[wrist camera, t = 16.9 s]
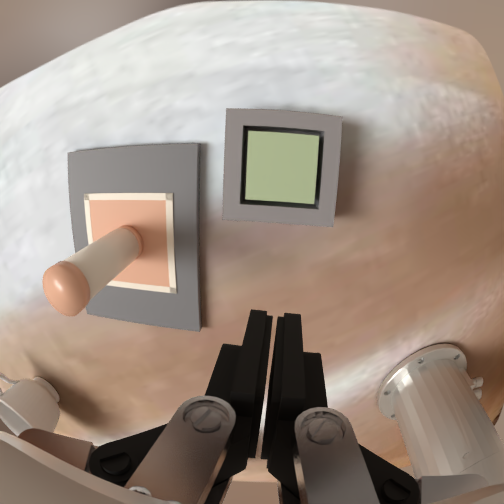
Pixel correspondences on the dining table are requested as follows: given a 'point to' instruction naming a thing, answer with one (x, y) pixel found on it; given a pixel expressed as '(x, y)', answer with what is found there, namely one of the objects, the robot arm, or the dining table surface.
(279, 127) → the button housing
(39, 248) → the dining table surface
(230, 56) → the dining table surface
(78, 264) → the marker
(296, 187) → the button
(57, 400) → the teacup
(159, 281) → the picture board
